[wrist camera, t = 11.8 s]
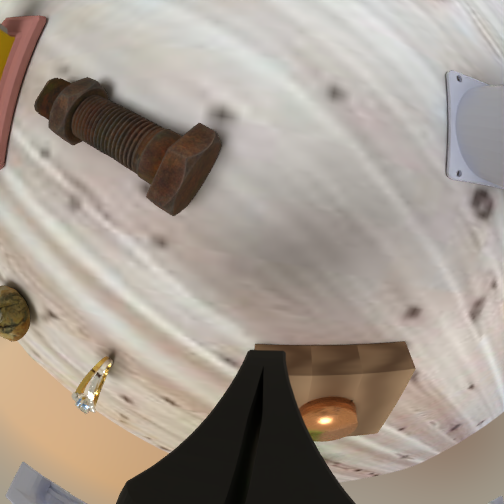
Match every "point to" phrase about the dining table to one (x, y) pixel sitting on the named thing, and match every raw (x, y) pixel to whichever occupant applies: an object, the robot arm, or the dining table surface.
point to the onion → (13, 314)
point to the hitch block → (350, 377)
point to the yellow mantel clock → (14, 66)
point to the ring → (92, 386)
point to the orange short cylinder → (329, 418)
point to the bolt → (132, 140)
